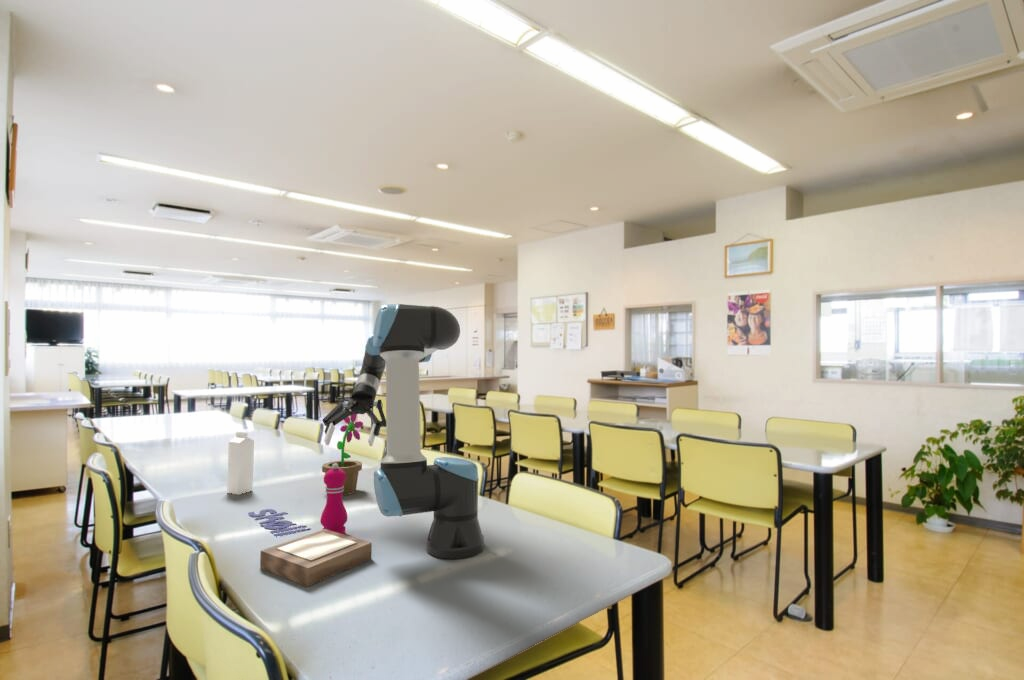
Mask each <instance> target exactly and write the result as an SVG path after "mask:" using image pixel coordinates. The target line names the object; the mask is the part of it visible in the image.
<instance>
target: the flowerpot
mask: <svg viewBox="0 0 1024 680" xmlns="http://www.w3.org/2000/svg"><path fill="white" fill-rule="evenodd" d="M357 415H358V414H352V415H351V416H348V417H346V418H345V419H343V421H344V422H345V425H342V426H340V428H339V429H340V432H342V433H344V435H343V438H342V441H341V440H338V441H337V444H336V448H337V449H338V450H339V451H340V450H341V451H340V452H341V455H340V456H341V457H340V458H341V460H335V461H329V462H326V463H323V464H322V466H321V473H324V474H325V473H326V472H327V471H329V470H331V469H333V468H332V465H333V464H334V463H337V464H338V469H341V470H343V471H344V472H345V474H346V481H345V482H344V483H343V485H344V491H343V492H342V496H345V495H344V494H348V495H350V494H349V493H352V494H354V493H353V492H355V491H356V492H357V485H358V478H359V472H360V471H363V470H362V469H363V462H361V461H360V460H359V461H358V460H348V459H350V458H351V457H352V456H351V455H350V454H349V453H347V452H345V444H346V442H347V443H351V440H353V437H354V438H355V439H356V440H357V441H360V440H361V434H360V432H359V431H358V430H357V429H359V428H362V427H363V425H364V423H363V421H360V420H359V421H357V420H356V419H357ZM355 421H356V422H355ZM347 424H348V425H347ZM345 459H346V460H345ZM356 492H355V493H356Z"/></svg>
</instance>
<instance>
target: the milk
mask: <svg viewBox="0 0 1024 680" xmlns="http://www.w3.org/2000/svg"><path fill="white" fill-rule="evenodd" d="M254 445H255V440H254V439H251V438H250V437H249V436H248V433H247V432H241V431H240V432H239V431H236V433H235V436H234V437H233V438H231V440H229V441H228V453H227V454H228V455H227V456H228V457H227V461H228V462H227V487H226V488H227V491H226V492H227V494H231V493H232V494H231V495H236V494H237V496H240V495H243V494H246V492H247V493H251V492H253V488H254V487H253V485H254V451H255V449H254V448H255V446H254ZM250 491H251V492H250ZM242 493H243V494H242Z"/></svg>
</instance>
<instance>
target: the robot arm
mask: <svg viewBox="0 0 1024 680" xmlns="http://www.w3.org/2000/svg"><path fill="white" fill-rule="evenodd" d="M459 323H460V322H459V321H458V319H457V318H456V316H455V315H454V314H453V313H451V312H450V311H449V310H447V309H445V308H443V307H439V306H435V305H417V304H416V305H415V304H414V305H413V304H402V303H396V304H388V303H387V304H383V305H381V307H380V308H379V309H378V312H377V314H376V317H375V321H374V327H373V333H372V334H371V335H370V336H368V338H367V340H366V344H365V349H364V354H363V355H364V356H363V359H362V365H361V368H360V371H359V375H358V376H357V379H356V383H355V385H354V388H353V391H352V394H351V398H350V399H349V400H347V401H346V400H344V398H341V399H339V402H338V404H337V405H336V406H335V407H334V408H333V409H331V411H329V413H328V414H326V415H325V417H323V418H322V423H323V424H324V426H325V429H324V434H325V435H324V439H323V441H324V443H325V445H326V446H330V443H331V440H332V438H333V435H334V433H335V429H336V428H335V426H336V425H337V424H339V423H340V422H342V421H344V419H345V418H346V417H351V415H352V414H356V415H365V414H366V415H367V416H368V417H369V418H370V419H371V421H372V422H373V423H372V426H371V430H370V431H369V436H368V440H367V442H368V444H369V446H370V447H373V445H374V443H375V442H374V441H375V438H376V437H378V436H379V434H380V430H381V428H382V427H383V428H386V429H385V430H386V431H385V432H386V435H385V436H386V454H385V456H384V457H383V458H382V459H381V461H380V468H377V469H375V470H374V472H373V490H374V494H375V499H376V504H377V507H378V510H379V511H380V513H381V514H382V515H383V516H384V517H387V518H388V517H403V516H408V515H415V514H423V513H432V512H433V519H432V522H431V526H430V529H429V532H428V535H427V538H426V541H425V542H426V547H425V548H426V550H425V551H426V552H427V553H428V554H429V555H430V556H433V557H435V558H440V559H450V560H451V559H453V560H457V559H465V558H466V559H467V558H470V557H473V556H476V555H478V554H480V553H482V551H484V549H485V538H484V535H483V533H482V532H483V531H482V529H481V524H480V521H479V518H478V516H479V515H478V513H479V510H478V509H479V503H478V502H479V500H478V499H479V497H478V496H479V471H478V470H479V469H478V466H477V464H476V463H475V462H473V461H471V460H468V459H466V458H465V459H464V458H459V457H451V456H448V457H447V456H445V457H444V456H439V457H436V458H434V461H433V464H428V458H427V457H426V456H425V455H424V454H423V453H422V452H421V449H422V447H421V442H422V441H421V406H420V405H421V404H420V402H421V400H420V364H421V363H429V361H431V358H432V355H433V353H435V352H437V351H438V350H442V351H443V350H447V349H449V348H451V347H453V346H454V345H455V344H456V343H457V342H458V340H459V338H460V335H461V326H460V324H459ZM384 371H385V404H386V405H385V411H386V412H385V413H384V410H383V408H384V406H383V402H382V399H378V400H377V401H375V400H376V397H377V393H378V390H379V387H380V383H381V380H382V377H383V374H384ZM374 407H375V408H376V409H377V411H378V413H379V417H380V419H379V418H378V417H377V415H376V414H375V413H374V412H373V411H372V409H373V408H374ZM385 415H386V416H385Z"/></svg>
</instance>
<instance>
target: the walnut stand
mask: <svg viewBox="0 0 1024 680" xmlns="http://www.w3.org/2000/svg"><path fill="white" fill-rule="evenodd" d="M372 544H373V543H372V542H371V541H368V540H364V539H360V538H358V537H354V536H351V535H347V534H341V533H337V532H334V531H330V530H327V529H324V530H322V529H321V530H318V531H315V532H313V533H310V534H305V535H303V536H301V537H297V538H294V539H291V540H288V541H285V542H282V543H279V544H276V545H273V546H271V547H267V548H265V549H262V550H260V558H259V559H260V560H259V563H260V564H259V565H260V566H259V569H262V570H265V571H268V572H270V573H272V574H274V575H278V576H280V577H282V578H285V579H287V580H290V581H292V582H295V583H298V584H299V583H300V584H299V585H302V584H303V586H304V585H305V586H304V587H307V586H308V587H310V586H309V585H311V584H313V583H315V584H317V583H319V582H318V581H320V580H322V581H324V580H326V579H325V578H327V577H329V578H331V577H333V576H335V575H334V574H336V575H338V574H340V573H342V572H341V571H343V572H345V571H346V569H347V570H349V569H351V568H350V567H352V568H353V566H354V567H356V566H359V565H361V564H363V563H365V562H367V560H368V561H370V560H372V551H373V549H372V548H373V547H372V546H373V545H372ZM369 559H370V560H369ZM362 562H363V563H362ZM360 563H361V564H360ZM358 564H359V565H358ZM348 568H349V569H348ZM344 570H345V571H344ZM339 572H340V573H339ZM337 573H338V574H337ZM332 575H333V576H332ZM330 576H331V577H330ZM323 579H324V580H323ZM327 579H328V578H327ZM316 582H317V583H316ZM320 582H321V581H320ZM313 585H314V584H313ZM311 586H312V585H311Z"/></svg>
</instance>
